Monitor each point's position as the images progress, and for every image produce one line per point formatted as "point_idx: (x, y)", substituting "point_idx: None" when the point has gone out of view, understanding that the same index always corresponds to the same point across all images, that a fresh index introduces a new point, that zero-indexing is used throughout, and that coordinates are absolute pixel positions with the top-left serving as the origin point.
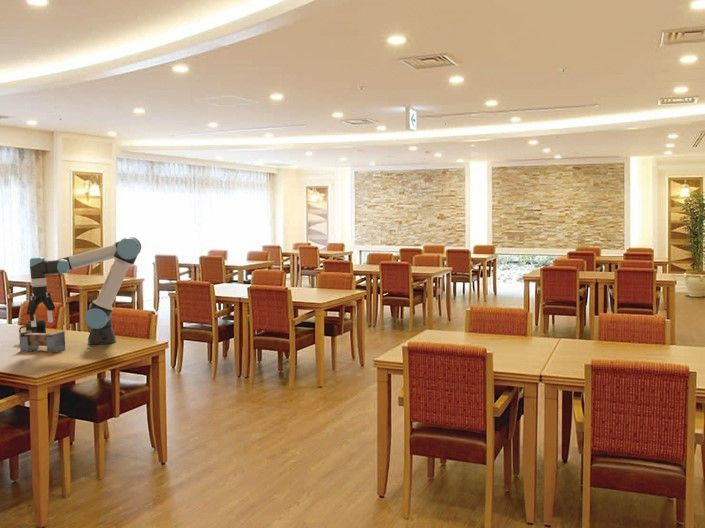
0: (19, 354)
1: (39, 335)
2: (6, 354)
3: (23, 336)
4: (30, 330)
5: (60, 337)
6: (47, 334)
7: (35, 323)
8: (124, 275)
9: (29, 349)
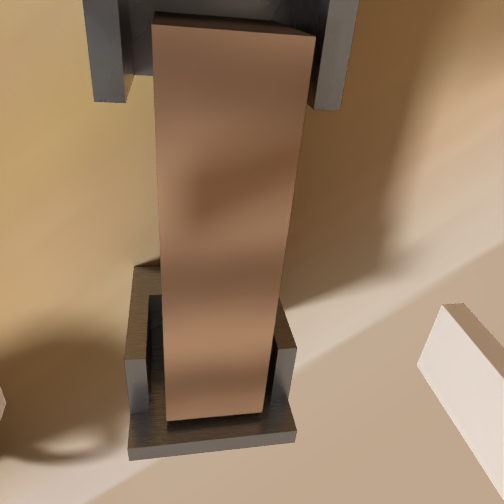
0: (372, 250)
1: (282, 249)
2: (363, 329)
3: None
4: (132, 455)
5: None
6: (253, 164)
7: (493, 345)
8: None
9: None
